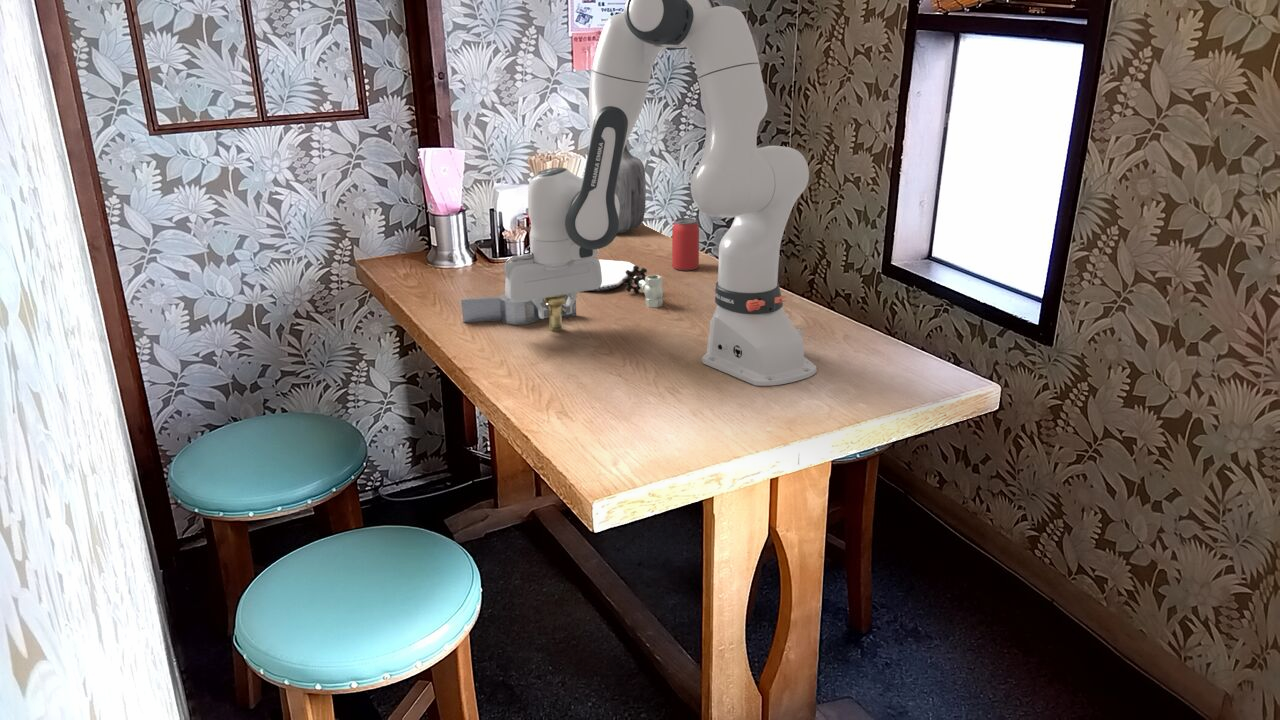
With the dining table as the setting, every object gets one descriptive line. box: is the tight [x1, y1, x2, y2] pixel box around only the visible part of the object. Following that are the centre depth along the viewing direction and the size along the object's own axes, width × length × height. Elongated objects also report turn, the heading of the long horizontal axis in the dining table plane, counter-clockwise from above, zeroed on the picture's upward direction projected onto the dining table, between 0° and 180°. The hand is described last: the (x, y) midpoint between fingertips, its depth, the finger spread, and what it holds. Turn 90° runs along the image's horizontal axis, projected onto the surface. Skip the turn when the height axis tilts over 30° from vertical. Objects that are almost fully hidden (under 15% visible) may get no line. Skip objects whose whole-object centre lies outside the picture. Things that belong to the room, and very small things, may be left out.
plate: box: [591, 258, 636, 292], centre depth 229 cm, size 21×21×2 cm
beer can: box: [671, 217, 700, 272], centre depth 235 cm, size 7×7×12 cm
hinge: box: [460, 292, 577, 326], centre depth 202 cm, size 24×8×5 cm, turn 98°
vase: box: [615, 144, 647, 234], centre depth 266 cm, size 16×16×30 cm
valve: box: [622, 265, 664, 309], centre depth 213 cm, size 7×7×12 cm
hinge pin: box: [544, 295, 566, 333], centre depth 196 cm, size 4×4×7 cm
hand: (555, 315), depth 196 cm, fingers open, 4 cm apart
